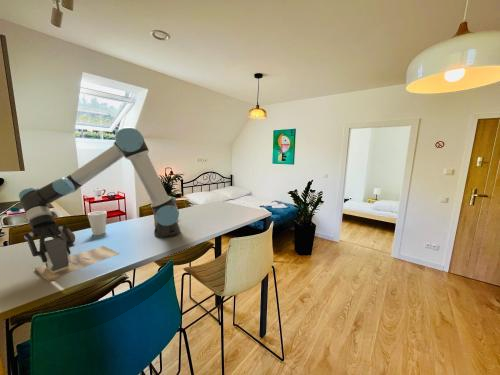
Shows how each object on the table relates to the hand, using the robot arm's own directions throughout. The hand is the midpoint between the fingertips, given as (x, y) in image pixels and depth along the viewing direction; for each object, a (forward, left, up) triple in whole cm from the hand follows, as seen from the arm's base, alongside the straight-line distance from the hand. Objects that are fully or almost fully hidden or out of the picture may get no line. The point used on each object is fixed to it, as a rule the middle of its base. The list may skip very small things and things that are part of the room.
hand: (60, 264), depth 86 cm
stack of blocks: (-14, -69, -4) cm, 71 cm away
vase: (+21, -27, -4) cm, 34 cm away
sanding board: (-1, -9, -4) cm, 10 cm away
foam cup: (+17, -45, -4) cm, 48 cm away
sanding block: (+3, -2, -2) cm, 5 cm away
